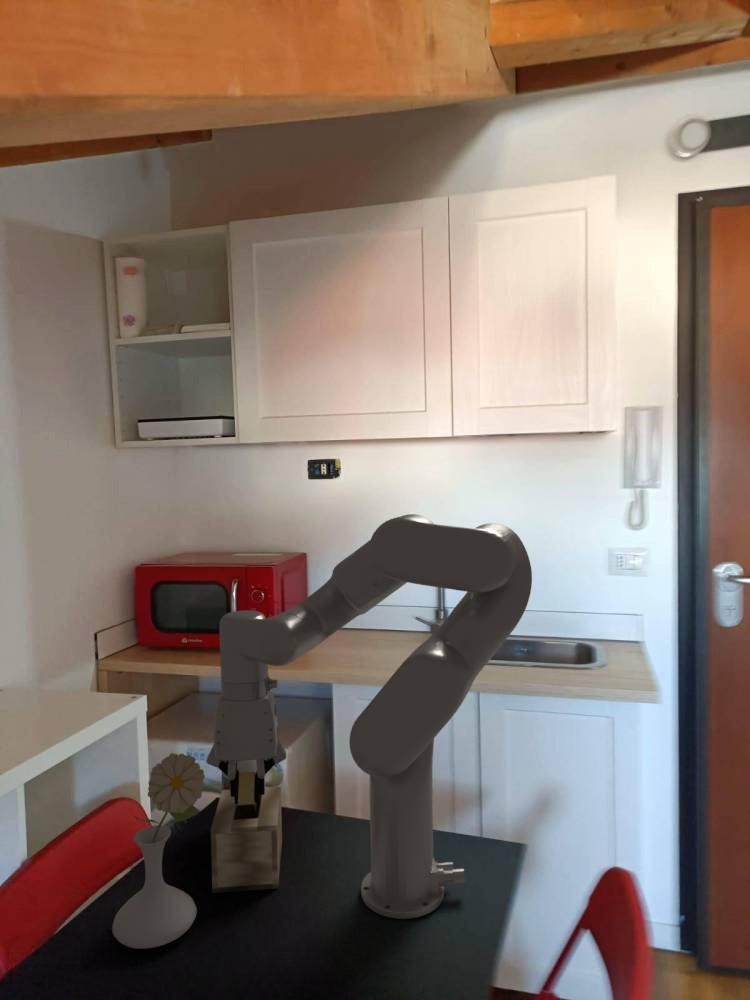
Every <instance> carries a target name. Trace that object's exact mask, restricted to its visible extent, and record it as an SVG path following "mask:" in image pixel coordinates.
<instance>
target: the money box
mask: <svg viewBox="0 0 750 1000" xmlns="http://www.w3.org/2000/svg"><path fill="white" fill-rule="evenodd" d="M214 814H215V815H214V816H213V819H212V824H211V828H210V846H211V848H210V851H211V852H210V853H211V854H210V855H211V884H212V885H211V886H212V888H211V889H212V890H211V891H212V893H213V894H215V893H217V894H219V893H231V892H243V891H244V892H245V891H260V890H261V891H262V890H272V889H273V890H274V889H275V890H277V889H279V883H280V872H281V870H280V869H281V860H282V850H283V849H282V847H283V827H282V825H283V823H282V821H283V820H282V818H283V817H282V787H281V786H271V787H270V786H267V787H266V786H265V794H264V795H261V798H260V803H257V809H256V813H243V814H241V812H240V810H239V807H238V804H235V802H234V797H231V793H230V790H222V789H221V793H220V796H219V800H218V804H217V807H216V810H215V813H214Z"/></svg>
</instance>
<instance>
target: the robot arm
mask: <svg viewBox="0 0 750 1000" xmlns="http://www.w3.org/2000/svg"><path fill="white" fill-rule="evenodd" d="M532 573H533V571H532V565H531V561H530V557H529V554H528V552H527V549H526V547H525V545H524V543H523V541H522V539H521V538H520V537H519V535H518V533H516V532H515V531H514V530H513V529H511V527H508V526H507V525H504V524H501V523H496V522H495V523H494V522H492V523H491V522H490V523H484V524H481V525H478V526H476V527H473V528H472V527H464V526H452V525H444V524H442V525H441V524H435V523H433V522H432V521H431V520H430V519H429V518H427V517H425V516H422V515H420V514H415V513H413V514H405V515H401V516H396V517H394V518H390V519H388V520H385V521H384V522H383V523H381V524H380V525H379V526H378V527H377V528H376V529H375V530H374V532H373V533H372V536H371V538H370V539H369V540H368V541H366V542H365V543H364V544H363V545H361V546H360V547H358V549H356V550H355V551H354V552H352V553H350V554H349V555H347V557H345V558H344V559H343V560H341V561H340V562H339V563H337V564H336V565H335V566H334V568H333V569H332V573H331V576H330V578H329V579H328V580H327V581H326V582H325V583H324V584H323V585H322V586H320V587H319V588H318V589H317V590H315V591H314V592H313V593H312V594H310V595H309V596H307V597H306V598H305V599H304V600H302V601H301V602H299V603H297V605H295V606H293V607H292V608H290V609H287V610H285V611H283V612H280V613H279V614H277V615H273V616H270V617H268V618H266V615H264V614H263V613H262V612H260V611H257V610H237V611H236V610H235V611H231V612H227V613H225V614H223V616H222V617H221V618H220V620H219V655H220V657H219V659H220V685H221V687H220V688H221V690H220V691H221V694H219V695H218V696H217V700H216V704H215V705H216V706H215V712H214V713H215V714H214V726H213V727H214V730H213V745H212V747H211V749H210V751H209V754H208V756H207V757H206V764H208V765H209V766H211V767H214V768H218V769H219V770H220V771H221V773H222V772H223V773H225V774H226V775H227V776H228V779H229V780H230V793H231V797H234V802H235V804H238V789H239V771H238V770H237V761H243V760H256V764H257V772H256V775H255V802H256V803H260V798H261V795H264V794H265V788H266V775H267V774H268V772H269V771H271V769H272V768H273V767H274V766H275V765H278V764H279V763H281V762H283V761H285V760H286V759H287V751H286V750H285V748H284V746H283V744H282V742H281V741H280V738H279V724H278V713H277V706H276V700H275V695H274V693H273V691H271V690H273V689H278V679H273V678H271V677H269V666H274V667H283V666H286V665H290V664H291V663H294V662H295V661H296V660H297V659H299V658H300V657H302V656H303V655H305V654H307V653H308V652H309V651H312V650H313V649H315V648H316V647H317V646H319V645H320V644H321V643H323V642H324V641H325V640H327V639H328V638H329V637H331V636H333V634H335V633H337V631H339V630H340V629H341V628H344V626H346V625H347V624H349V623H350V622H351V621H353V620H354V619H356V618H358V617H359V616H361V615H364V614H366V613H367V612H369V611H370V610H372V609H373V608H375V607H376V606H377V605H378V604H380V603H381V602H383V601H384V600H386V599H387V598H388V597H389V596H390V595H392V594H393V593H395V592H396V591H397V590H399V589H400V588H402V587H403V586H404V585H407V583H410V584H414V585H418V586H419V585H421V586H426V587H427V586H428V587H435V588H441V589H446V590H454V591H460V592H466V593H465V594H464V595H463V597H462V598H461V599H460V601H459V602H458V603H457V604H456V605H455V606H454V608H453V609H452V611H451V612H450V614H449V615H448V616H447V617H446V618H445V620H444V621H443V622H442V623H441V624H440V625H439V627H438V628H437V629H436V630H435V631H434V632H433V633H432V634H431V636H429V637H428V638H427V639H426V640H425V641H424V642H423V643H421V644H420V645H419V646H418V647H416V648H415V650H413V651H412V653H411V654H410V655H409V656H408V657H406V659H405V660H404V661H403V662H402V663H401V665H400V666H398V668H397V669H396V671H395V672H394V673H393V674H392V675H391V676H390V678H389V679H388V680H387V681H386V683H385V684H384V685H383V687H382V688H381V689H380V690H379V691H378V692H377V694H376V695H375V696H374V698H372V700H371V701H370V702H369V703H368V704H367V706H366V707H365V708H364V710H362V712H361V713H360V714H359V715H357V716H358V717H357V718H356V719H355V721H353V725H352V727H351V729H350V732H349V739H348V741H349V750H350V751H349V752H350V753H351V757H352V759H353V761H354V763H355V764H356V766H357V767H358V769H360V770H361V771H362V772H363V773H365V774H367V775H369V826H370V827H369V831H370V833H369V834H370V835H369V836H370V837H369V838H370V842H369V843H370V872H369V873H367V874H366V875H365V876H364V877H363V880H362V882H361V887H360V893H361V898H362V901H363V902H364V904H365V906H367V907H368V908H369V909H370V910H371V911H372V912H374V913H376V914H377V915H381V916H383V917H386V918H391V919H397V920H407V919H415V918H420V917H423V916H425V915H428V914H430V913H432V912H433V911H435V910H436V909H437V908H438V907H439V906H440V905H441V904H442V902H443V900H444V896H445V885H446V884H462V883H463V884H464V883H465V882H466V874H465V869H464V868H463V867H462V868H454V862H453V861H444V862H438V861H437V860H435V857H434V829H433V827H434V823H433V822H434V821H433V820H434V819H433V817H434V815H433V792H434V791H433V790H434V789H433V762H434V761H433V760H434V745H435V738H436V736H438V734H439V733H440V732H441V731H442V729H443V728H444V727H445V726H446V725H447V724H448V723H449V721H450V720H451V719H452V718H453V716H454V715H455V714H456V713H457V712H458V710H459V708H460V707H461V706H462V704H463V702H464V701H465V699H466V697H467V695H468V693H469V691H470V690H471V688H472V687H473V684H474V681H475V680H476V678H477V677H478V675H479V674H480V673H481V672H482V670H483V669H484V668H485V666H486V665H487V664H488V662H489V661H490V660H491V659H492V658H493V657H494V656H495V655H496V653H497V652H498V651H499V649H500V648H501V647H502V645H503V644H504V643H505V642H506V640H507V639H508V638H509V636H510V635H511V634H512V633H513V631H514V629H515V628H516V627H517V625H518V624H519V622H520V620H521V619H522V617H523V615H524V613H525V611H526V608H527V607H528V603H529V599H530V596H531V592H532V584H533V574H532ZM264 777H265V779H264Z"/></svg>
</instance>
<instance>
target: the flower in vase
mask: <svg viewBox="0 0 750 1000" xmlns="http://www.w3.org/2000/svg"><path fill="white" fill-rule="evenodd" d="M204 773H205V771H204V769H202V768H201V766H200V763H198V762H196V758H195V756H192V755H190V754H187V755H185V754H184V753H180V754H178V753H173V752H171V753H170V754H169V755H168V756H166V757H164V758H163V759H162V760H161V762H160V763H156V765H155V766H153V767H152V769H151V771H150V779H149V781H148V787H147V788H148V789H147V790H148V792H147V796H148V798H151V802H152V804H154V805H156V809H157V811H162V812H163V813H164V815H163V816H162V818H161V820H160V822H158V821H156V820H154V819H150V818H141V817H137V816H136V815H133V817H134V819H136V820H138V821H142V822H143V821H144V822H148V823H154V824H155V823H156V824H158V825H152V826H147V827H144V828H143V829H141V830H139V831H137V832H136V833H135V835H134V836H133V841H134V843H135V844H136V845H137V846H138V847H139V849H140V850H141V853H142V856H143V861H144V868H145V869H144V872H145V876H144V878H145V881H144V884H143V887H142V888H141V890H139V891H138V892H136V894H134V895H133V896H131V897H130V898H129V899H128V900H127V901H126V902H125V903H124V904H122V905H123V906H121V908H119V910H118V911H117V913H116V914H115V917H114V920H113V923H112V926H111V930H112V931H111V932H112V935H113V937H114V938H115V939H116V940H117V941H118V942H119V943H121V944H122V945H123V946H126V947H127V948H132V949H137V950H139V949H141V950H142V949H143V950H144V949H145V950H146V949H152V948H157V947H161V946H165V945H167V944H170V943H171V942H174V941H175V940H177V939H178V938H180V937H182V936H183V935H184V934H185V933H187V931H188V930H190V927H191V926H192V925H193V923H194V921H195V919H196V918H197V917H196V916H197V912H198V909H197V906H196V904H195V901H194V899H193V898H192V896H190V895H189V894H188V893H187V892H185V891H183V890H182V889H179V888H177V887H175V886H172V885H169V884H168V883H166V882H165V881H164V877H163V864H162V863H163V855H164V848H165V845H166V842H167V841H168V839H169V838H170V836H171V834H172V830H171V828H169V827H168V826H165V825H162V824H163V823H164V822H165V820H166V817H167V815H168V814H170V816H171V817H173V818H174V819H175V820H176V821H178V822H184V821H186V820H188V819H190V818H192V817H194V816H195V815H197V814H198V813H199V812H200V810H199V809H198V808H197V807H196V806H195V804H196V802H197V801H198V800H199V799H201V798H202V795H203V789H204V788H205V782H204V780H205V777H206V776H205V774H204Z"/></svg>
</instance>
